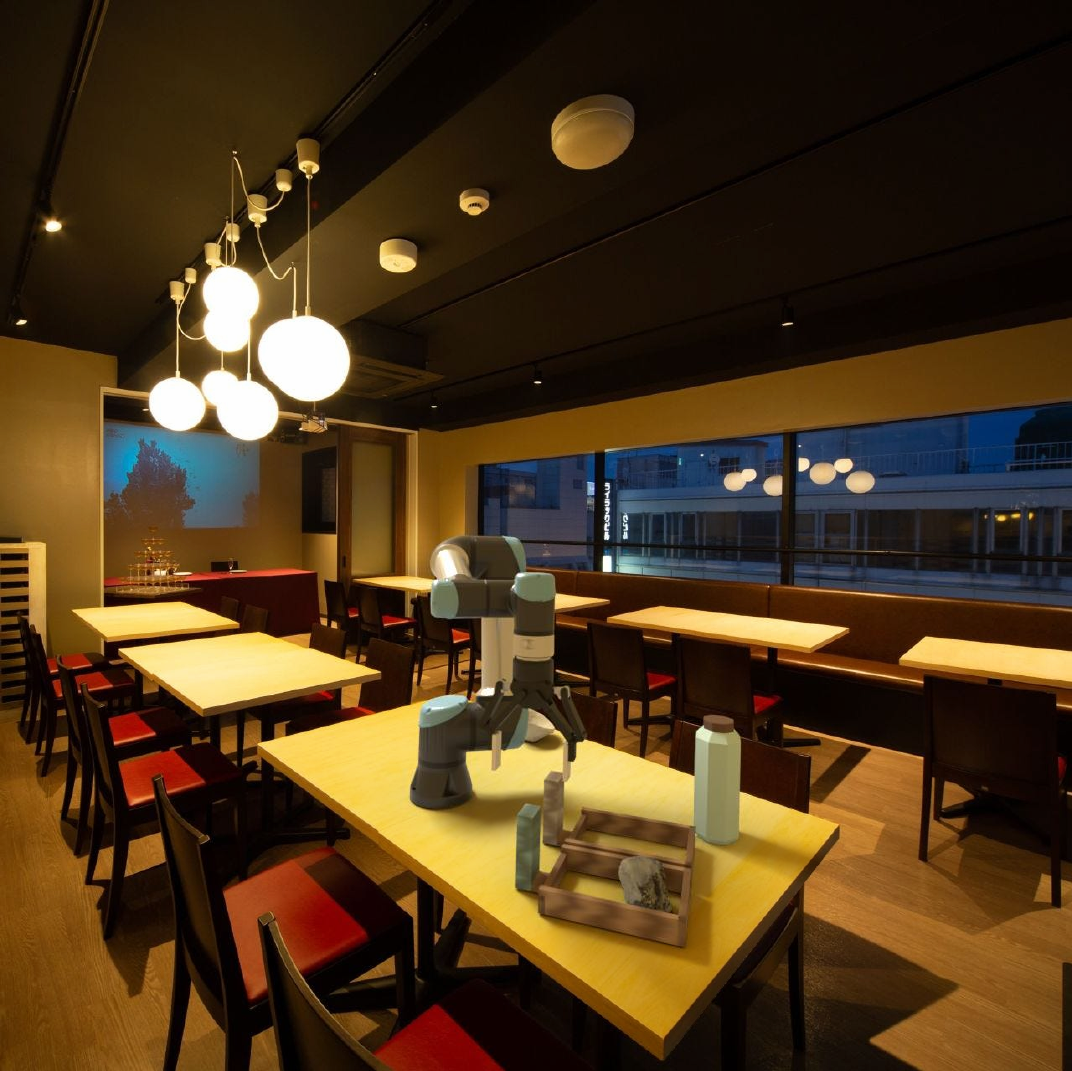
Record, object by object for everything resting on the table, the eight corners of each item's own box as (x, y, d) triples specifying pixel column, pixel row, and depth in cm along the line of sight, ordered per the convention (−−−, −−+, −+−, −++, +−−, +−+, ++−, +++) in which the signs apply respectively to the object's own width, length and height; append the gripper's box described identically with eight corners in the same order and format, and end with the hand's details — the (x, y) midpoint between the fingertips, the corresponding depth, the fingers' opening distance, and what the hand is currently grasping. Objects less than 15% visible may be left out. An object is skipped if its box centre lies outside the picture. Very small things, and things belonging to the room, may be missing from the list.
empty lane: (534, 855, 114) (536, 789, 115) (556, 820, 129) (557, 762, 129) (691, 887, 105) (692, 815, 105) (695, 845, 120) (696, 782, 120)
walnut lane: (504, 904, 99) (506, 828, 99) (532, 858, 113) (534, 792, 114) (685, 947, 89) (687, 863, 90) (690, 890, 104) (692, 818, 104)
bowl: (555, 749, 174) (556, 716, 174) (509, 747, 174) (510, 714, 175) (554, 732, 189) (555, 702, 189) (511, 731, 189) (512, 700, 190)
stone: (677, 853, 98) (618, 841, 101) (671, 919, 91) (608, 903, 94) (678, 876, 104) (622, 864, 107) (672, 939, 97) (613, 924, 100)
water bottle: (685, 824, 130) (687, 712, 130) (728, 823, 130) (731, 712, 131) (701, 847, 120) (704, 726, 120) (748, 847, 120) (751, 726, 121)
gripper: (462, 654, 106) (459, 770, 106) (595, 666, 99) (593, 792, 98) (479, 648, 113) (476, 757, 113) (604, 658, 106) (601, 775, 105)
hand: (530, 773), depth 106 cm, fingers open, 13 cm apart
